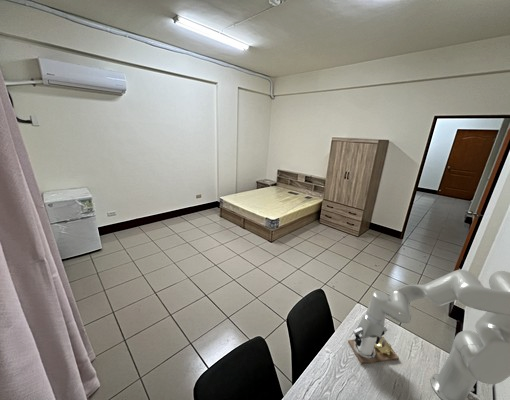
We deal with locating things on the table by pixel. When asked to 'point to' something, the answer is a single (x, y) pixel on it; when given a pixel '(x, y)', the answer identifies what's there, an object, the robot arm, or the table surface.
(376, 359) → the gear board
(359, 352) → the ring
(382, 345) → the gear
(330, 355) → the table surface
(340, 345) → the table surface
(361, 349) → the can
